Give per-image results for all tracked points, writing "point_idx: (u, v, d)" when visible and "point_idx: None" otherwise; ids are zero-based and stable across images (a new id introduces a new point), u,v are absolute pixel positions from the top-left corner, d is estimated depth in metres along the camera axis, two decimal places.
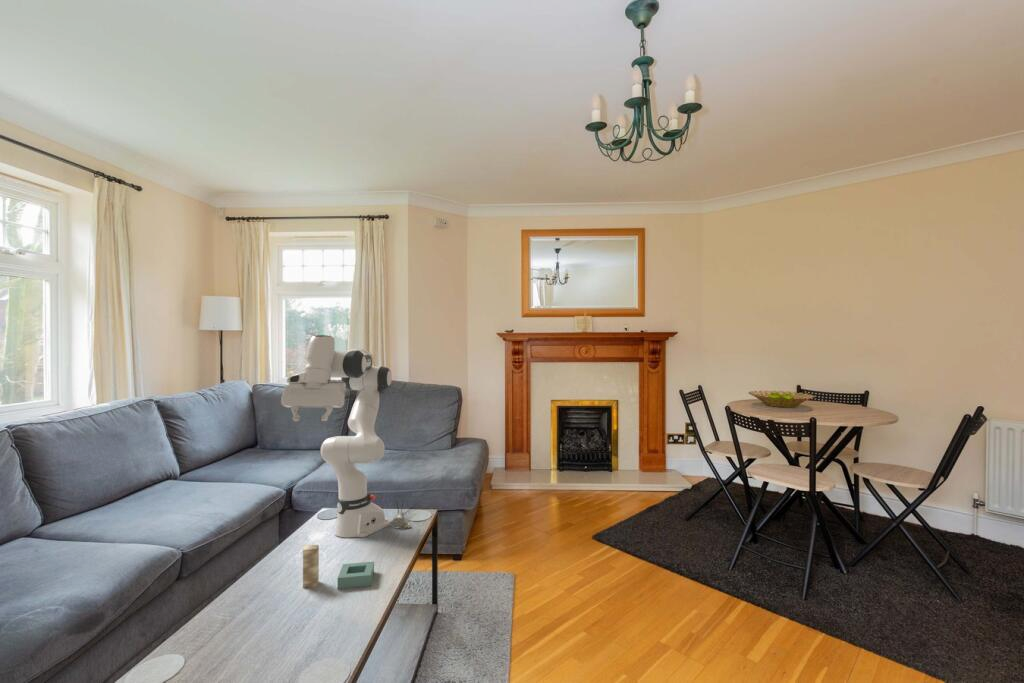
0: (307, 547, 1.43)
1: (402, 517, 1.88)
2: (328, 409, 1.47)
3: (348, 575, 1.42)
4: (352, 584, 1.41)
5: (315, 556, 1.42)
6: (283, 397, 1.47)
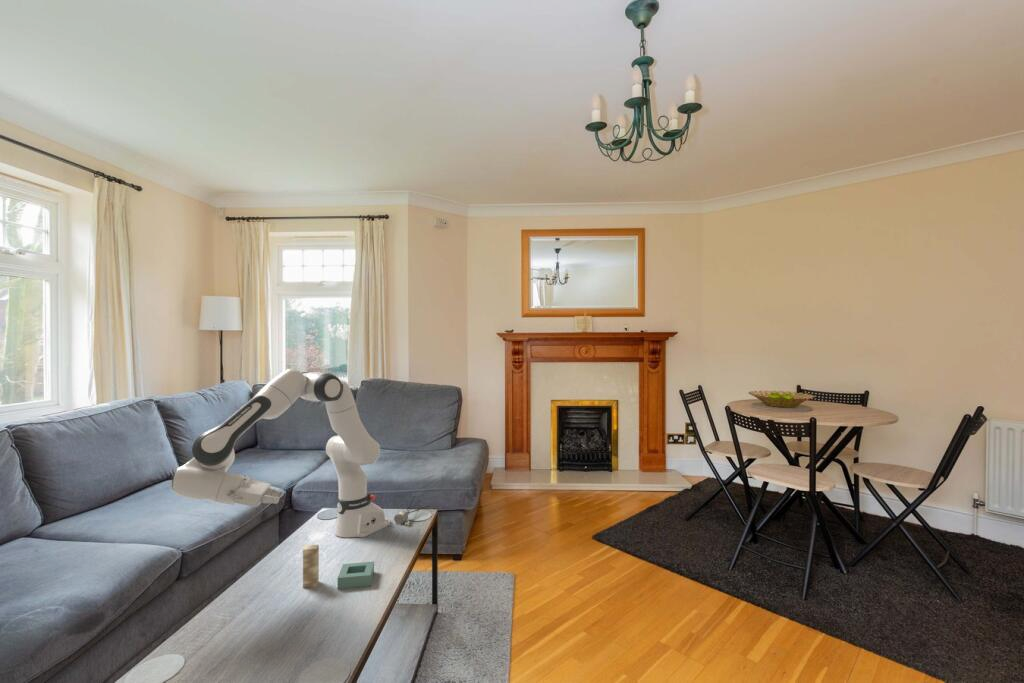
0: (307, 547, 1.43)
1: (404, 514, 1.91)
2: None
3: (348, 575, 1.42)
4: (352, 584, 1.41)
5: (315, 556, 1.42)
6: None
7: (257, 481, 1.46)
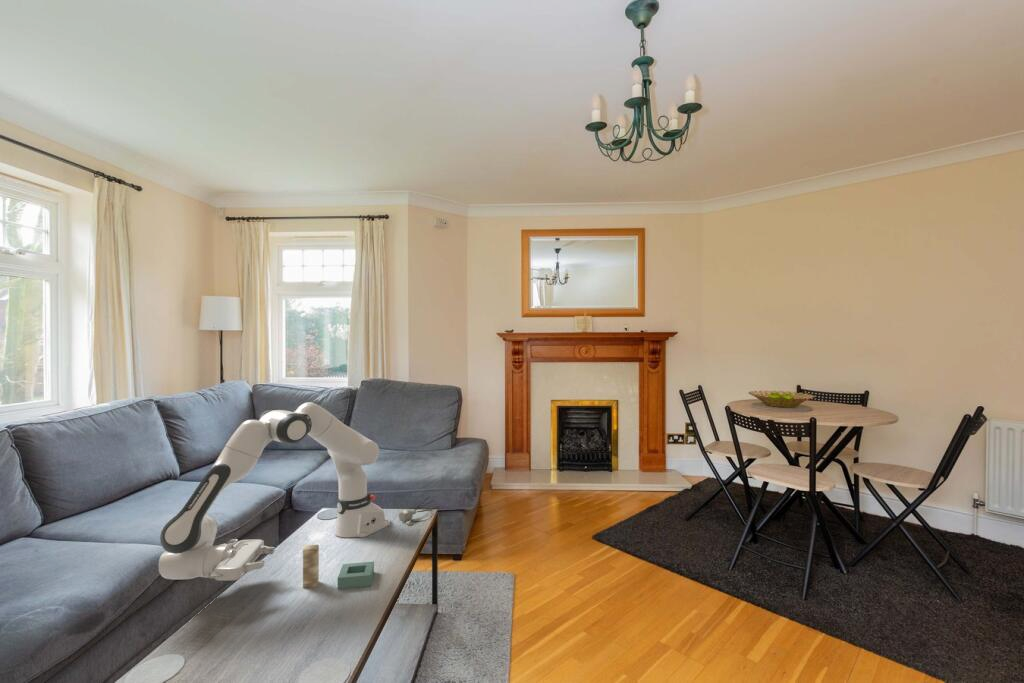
0: (307, 547, 1.43)
1: (408, 513, 1.93)
2: None
3: (348, 575, 1.42)
4: (352, 584, 1.41)
5: (315, 556, 1.42)
6: None
7: (248, 541, 1.47)
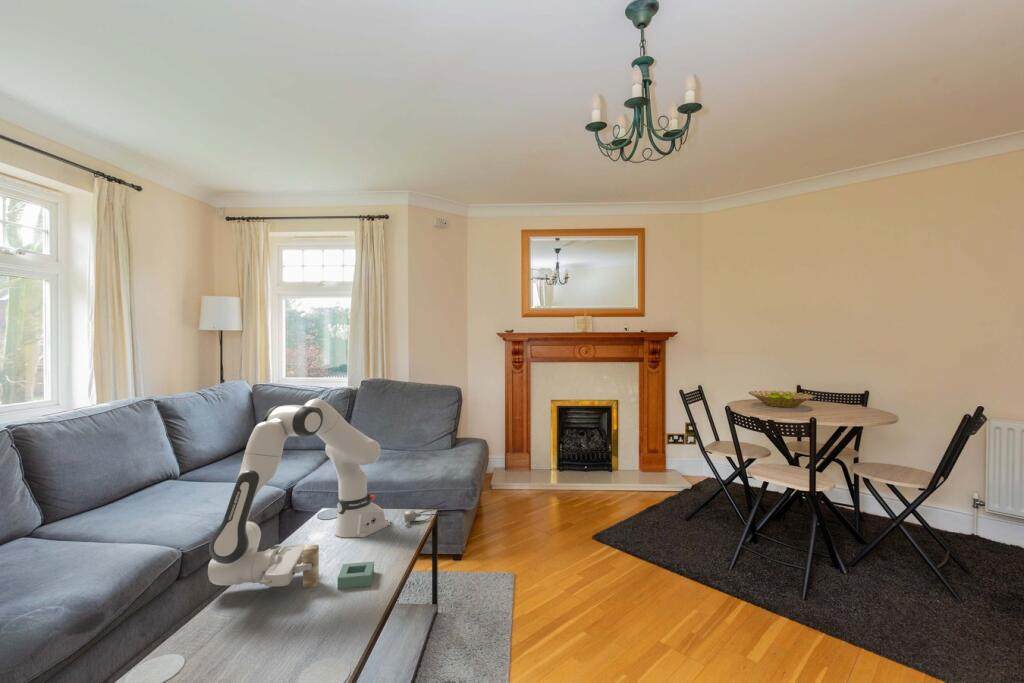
0: (307, 547, 1.43)
1: (410, 514, 1.91)
2: None
3: (348, 575, 1.42)
4: (352, 584, 1.41)
5: (315, 556, 1.42)
6: None
7: (291, 546, 1.49)
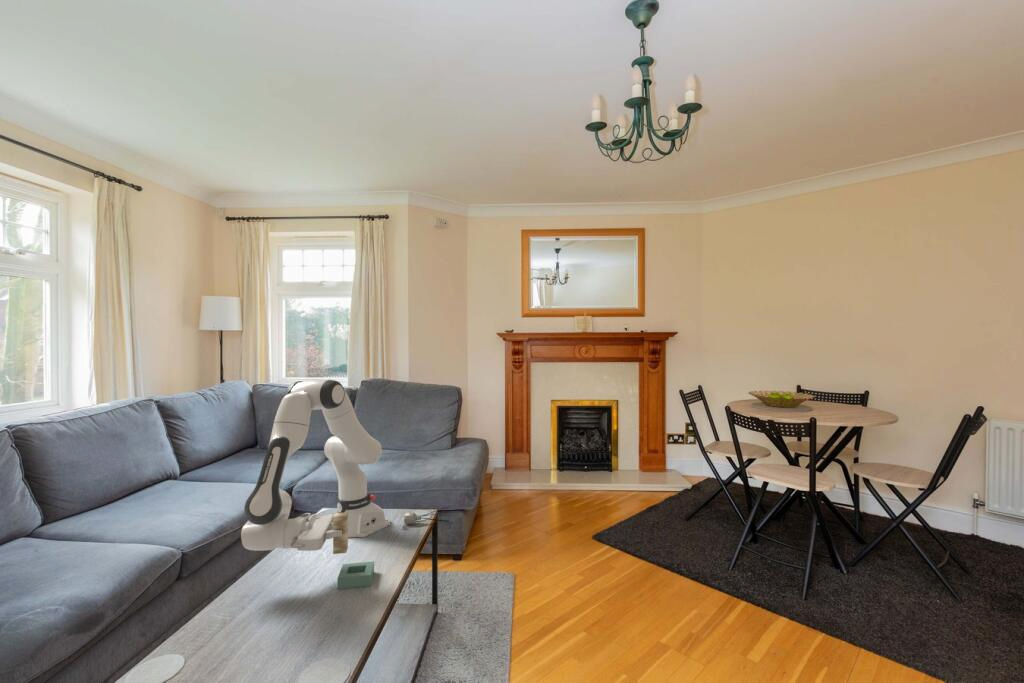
0: (337, 514, 1.44)
1: (409, 516, 1.89)
2: None
3: (348, 575, 1.42)
4: (352, 584, 1.41)
5: (345, 523, 1.44)
6: None
7: (320, 515, 1.51)
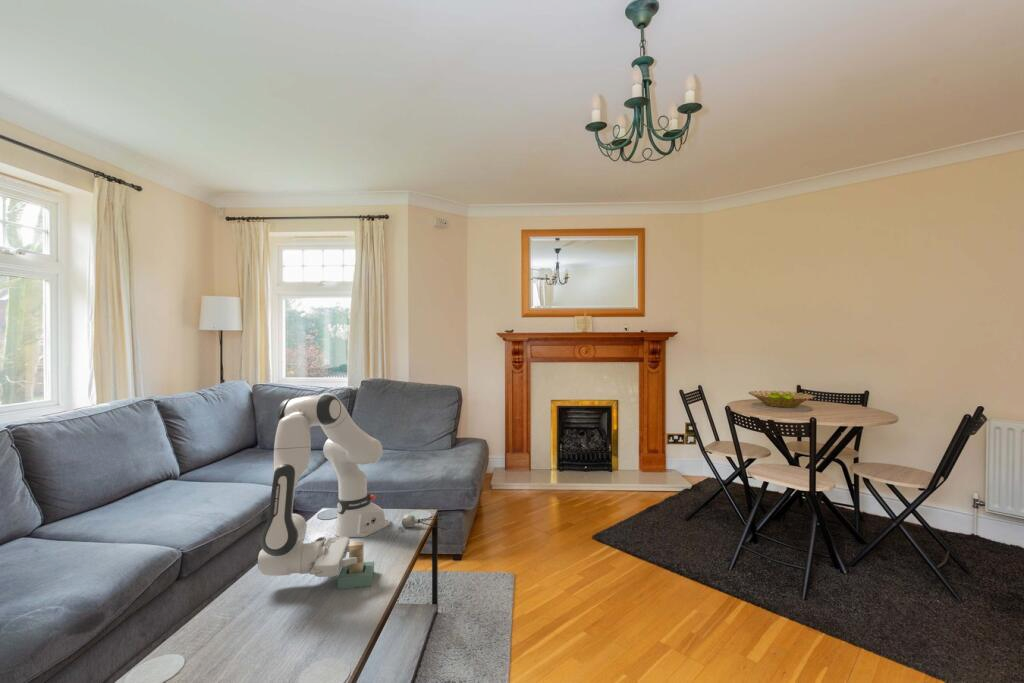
0: (353, 543, 1.45)
1: (406, 519, 1.86)
2: None
3: (348, 575, 1.42)
4: (352, 584, 1.41)
5: (361, 552, 1.44)
6: None
7: (335, 539, 1.52)
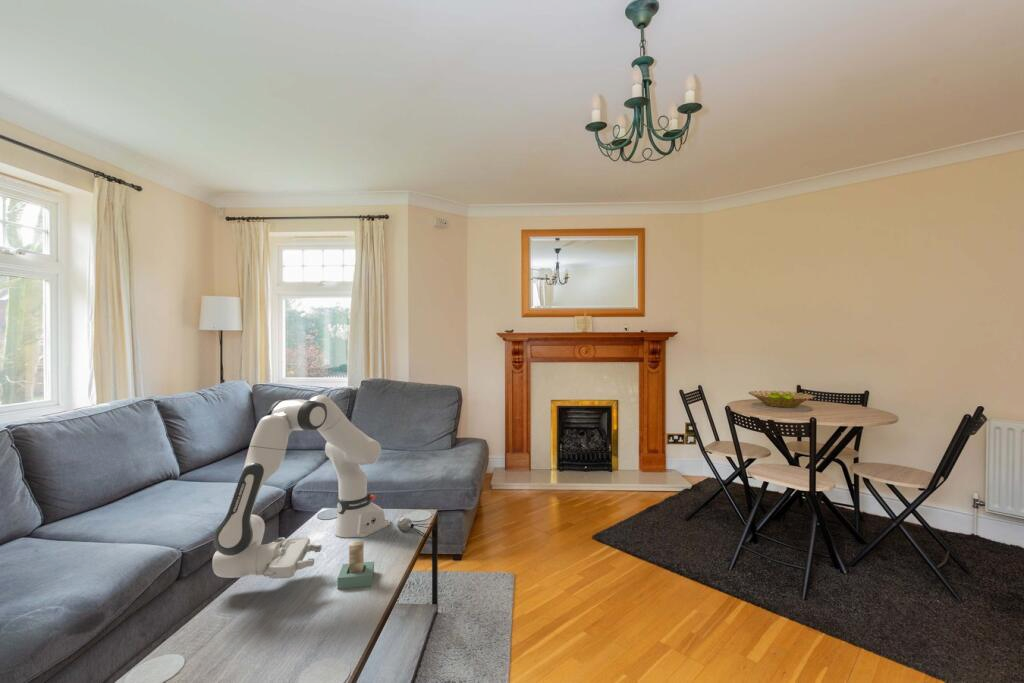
0: (353, 543, 1.45)
1: (401, 522, 1.83)
2: None
3: (348, 575, 1.42)
4: (352, 584, 1.41)
5: (361, 552, 1.44)
6: None
7: (295, 539, 1.50)
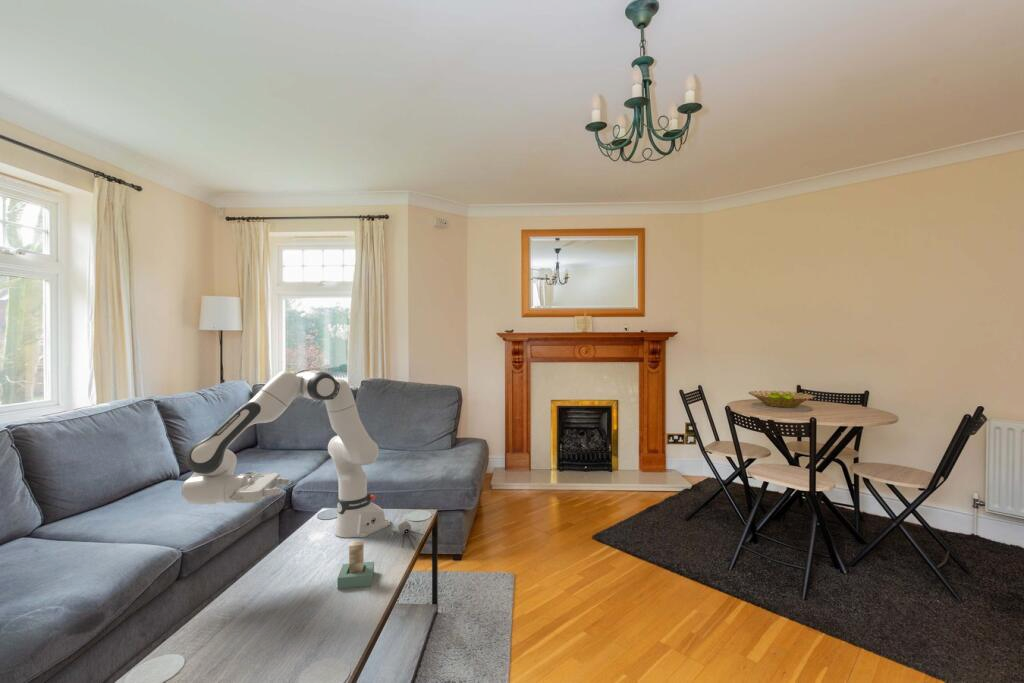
0: (353, 543, 1.45)
1: (400, 525, 1.80)
2: None
3: (348, 575, 1.42)
4: (352, 584, 1.41)
5: (361, 552, 1.44)
6: None
7: (265, 474, 1.54)
